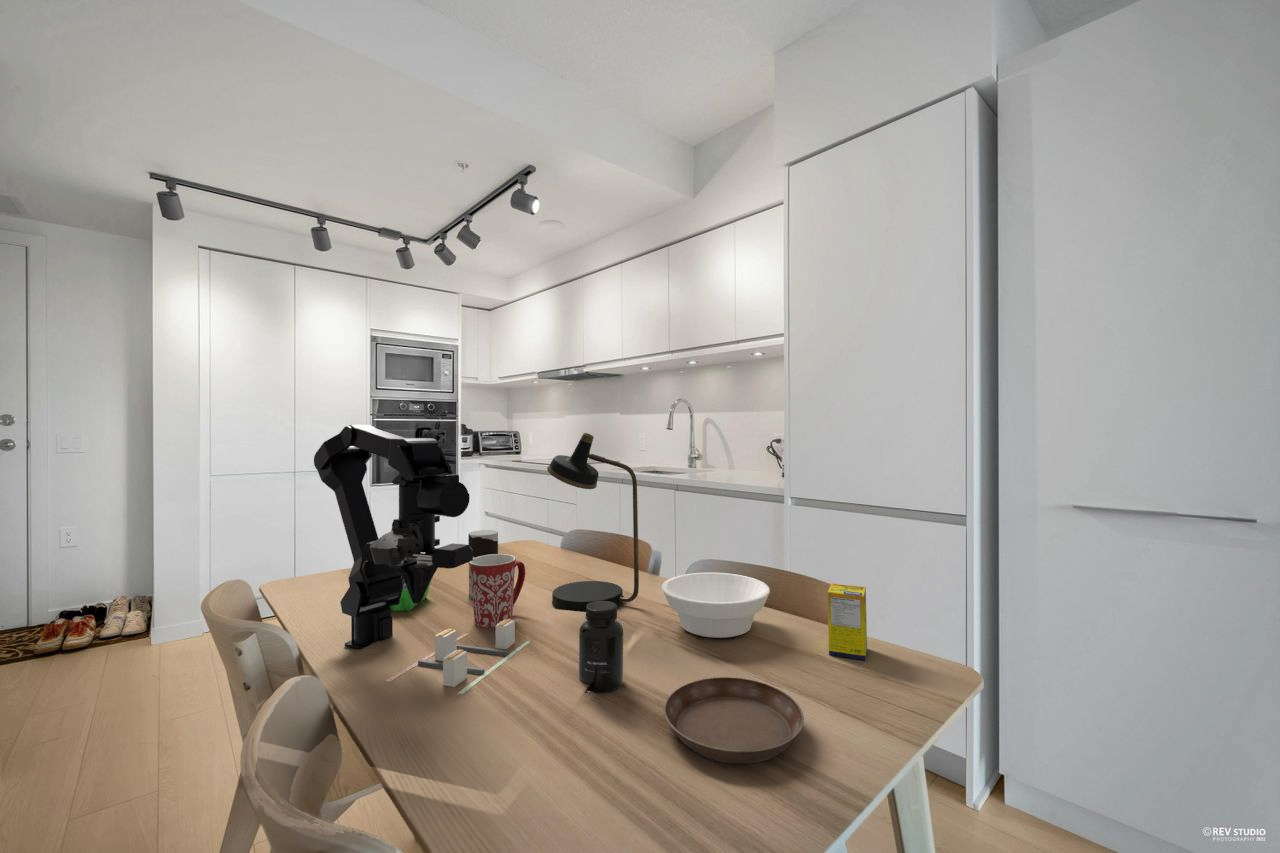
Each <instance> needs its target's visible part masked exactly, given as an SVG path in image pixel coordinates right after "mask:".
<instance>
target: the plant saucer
mask: <svg viewBox="0 0 1280 853" xmlns="http://www.w3.org/2000/svg"><path fill="white" fill-rule="evenodd" d="M663 711H664V712H663V714H664V716H665V720H666V721H667V723H668V725H669V727H670V728H671V730H672V731H673V732H674V733H675V735H676V736H677V737H678V738H679V739H680V741H681V742H683V743H684V744H685V746H687V747H688V748H690V749H691V750H692V751H694V752H695V753H696V754H698V755H700V756H703V757H706V758H707V759H711V760H714V761H717V762H722V763H728V764H738V765H740V764H741V765H742V764H754V763H761V762H764V761H767V760H770V759H772V758H773V759H774V758H775V757H776V756H778V755H779V754H781V753H783V752H784V751H785V750H786V749H788V748H789V747H790V746H791V745H792V744H793V743H794V742H795V740H796V739H797V738H798V736H799V734H800V732H801V731H802V729H803V727H804V723H805V722H804V720H805V716H804V713H803V709H802V708H801V707H800V705H799V704H798V703H797V701H796V700H795V699H794V698H793V697H792V696H790V695H789V694H787V693H786V692H785V691H783V690H781V689H779V688H778V687H775V686H772V685H770V684H767V683H764V682H761V681H758V680H753V679H747V678H742V677H733V676H732V677H731V676H730V677H727V676H720V677H719V676H717V677H709V678H702V679H698V680H694V681H691V682H689V683H686V684H683V685H681V686H680V687H678V688H677V689H674V691H673V692H672V693H671V694H670V695H669V696H668V697H667V698H666V701H665V702H664V707H663Z"/></svg>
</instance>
